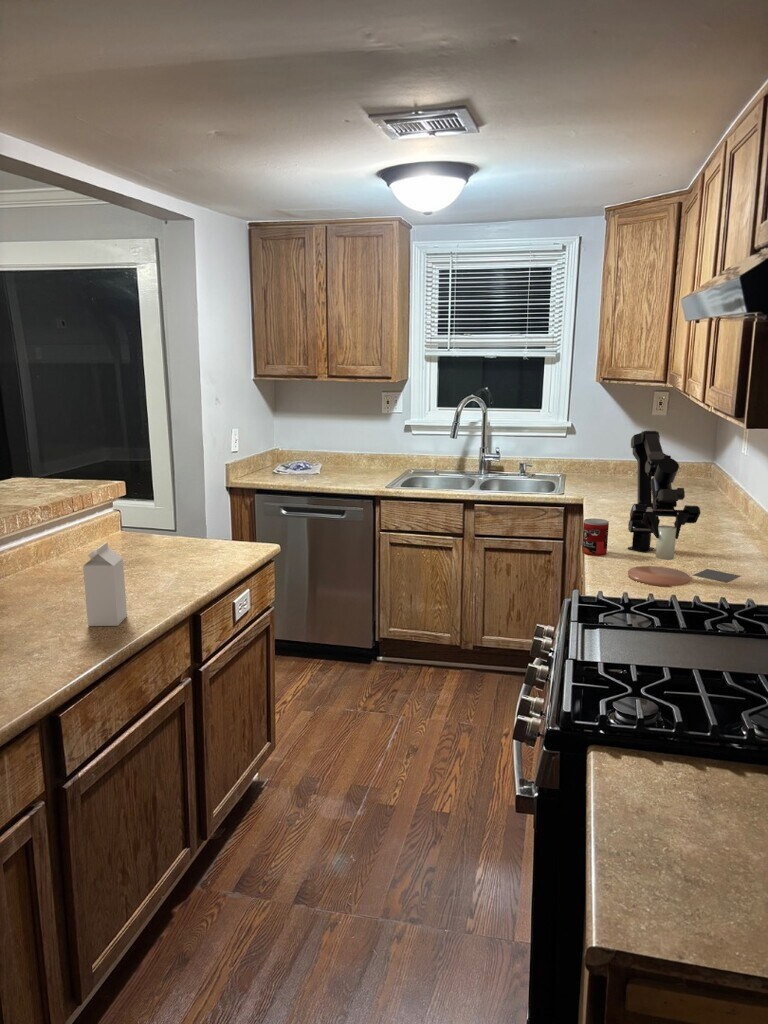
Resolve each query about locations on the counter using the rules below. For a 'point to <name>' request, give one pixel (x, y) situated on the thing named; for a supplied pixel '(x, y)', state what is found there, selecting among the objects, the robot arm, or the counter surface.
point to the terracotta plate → (658, 576)
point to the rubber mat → (716, 575)
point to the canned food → (595, 537)
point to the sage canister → (666, 542)
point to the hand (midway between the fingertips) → (667, 538)
